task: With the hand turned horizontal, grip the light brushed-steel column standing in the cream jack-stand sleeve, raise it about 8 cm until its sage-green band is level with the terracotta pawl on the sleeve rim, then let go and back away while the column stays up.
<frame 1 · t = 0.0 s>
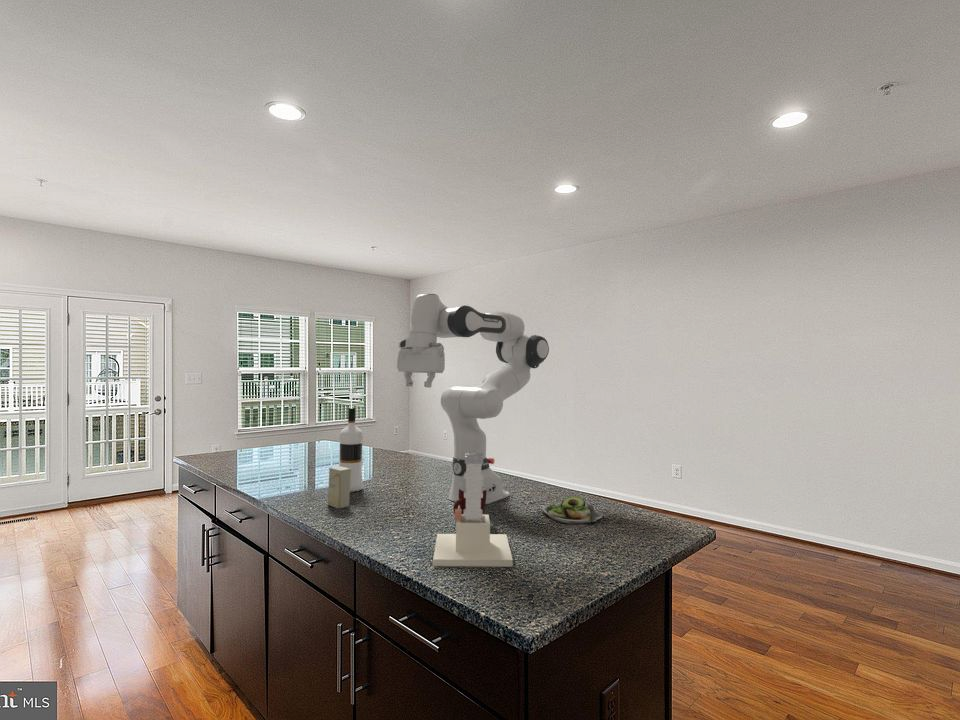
hand: (418, 386, 160), 39 cm above the worktop, tool pointing down, fingers open, 8 cm apart
mug: (469, 524, 146), on the worktop
stand: (472, 552, 123), on the worktop
salad plate: (572, 517, 157), on the worktop
skincare box: (338, 506, 163), on the worktop
vodka: (350, 490, 185), on the worktop
column: (473, 503, 124), point 12 cm above the worktop, slide at 0.0 cm
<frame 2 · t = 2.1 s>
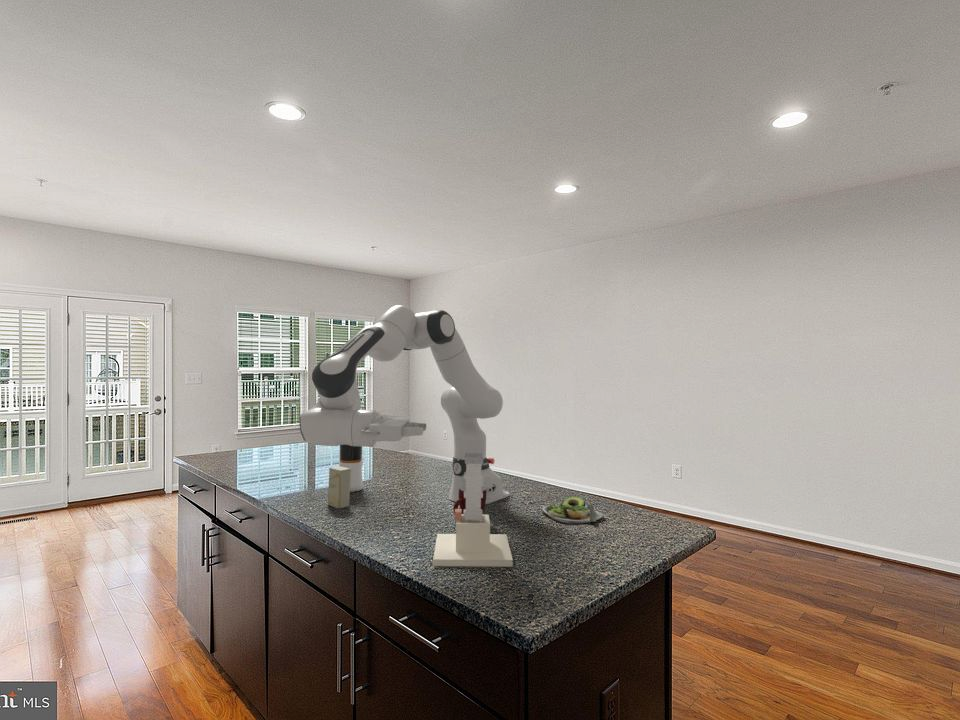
hand: (424, 429, 124), 30 cm above the worktop, tool horizontal, fingers open, 8 cm apart
nothing on the worktop moved.
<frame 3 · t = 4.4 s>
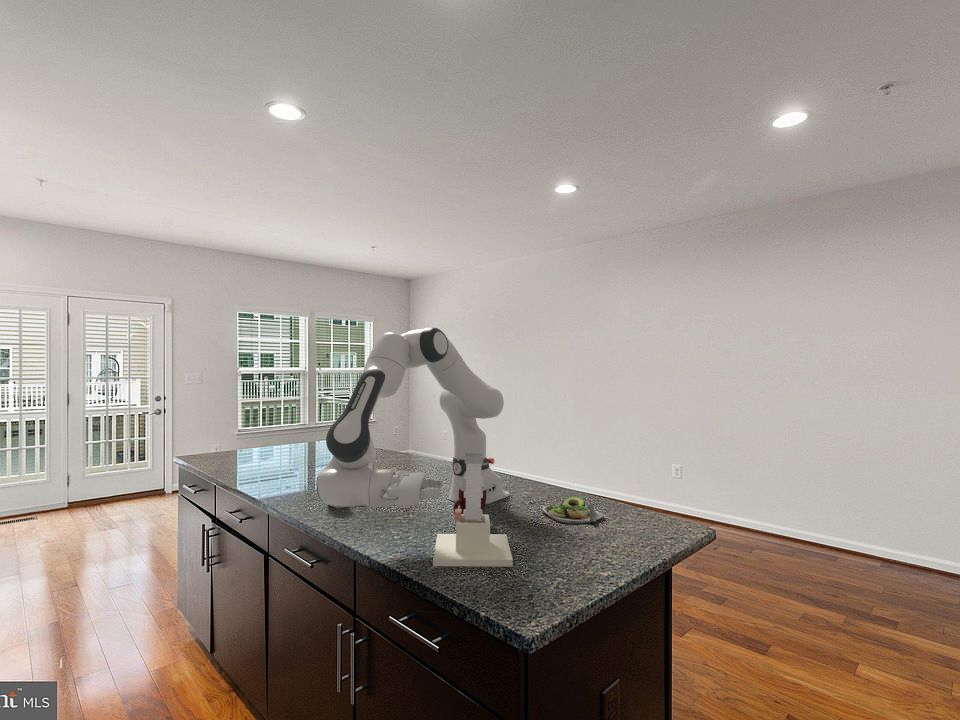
hand: (441, 488, 124), 15 cm above the worktop, tool horizontal, fingers open, 8 cm apart
nothing on the worktop moved.
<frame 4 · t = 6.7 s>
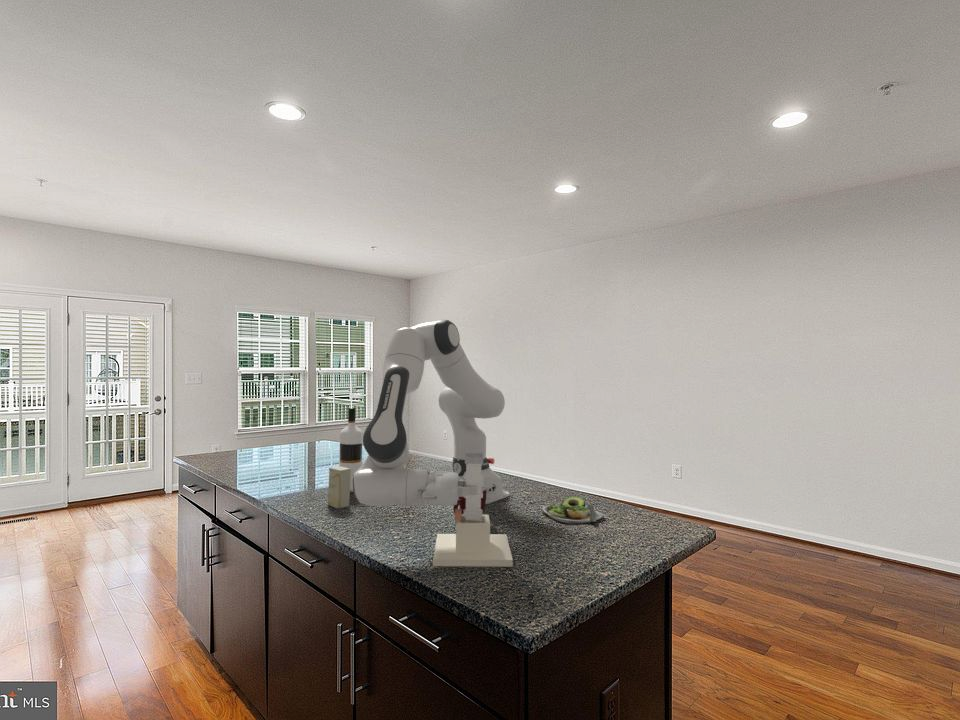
hand: (477, 488, 124), 16 cm above the worktop, tool horizontal, fingers closed on column, 4 cm apart
column: (473, 503, 124), point 12 cm above the worktop, slide at 0.0 cm, touching gripper
everything else where it was.
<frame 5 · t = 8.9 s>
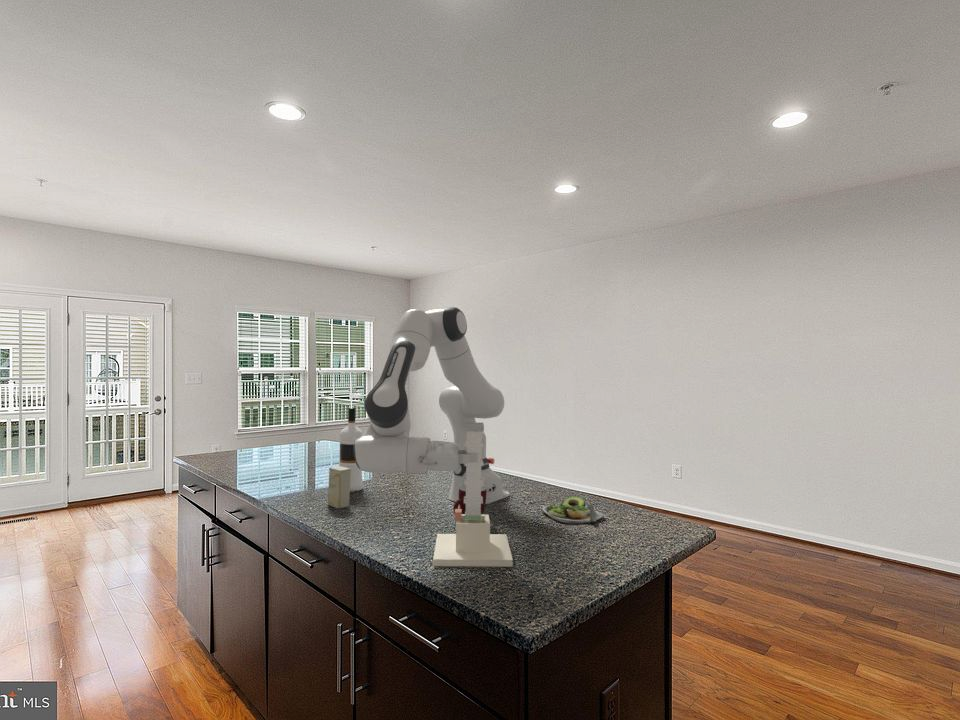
hand: (477, 456, 124), 23 cm above the worktop, tool horizontal, fingers closed on column, 4 cm apart
column: (473, 472, 124), point 19 cm above the worktop, slide at 7.7 cm, touching gripper
everything else where it was.
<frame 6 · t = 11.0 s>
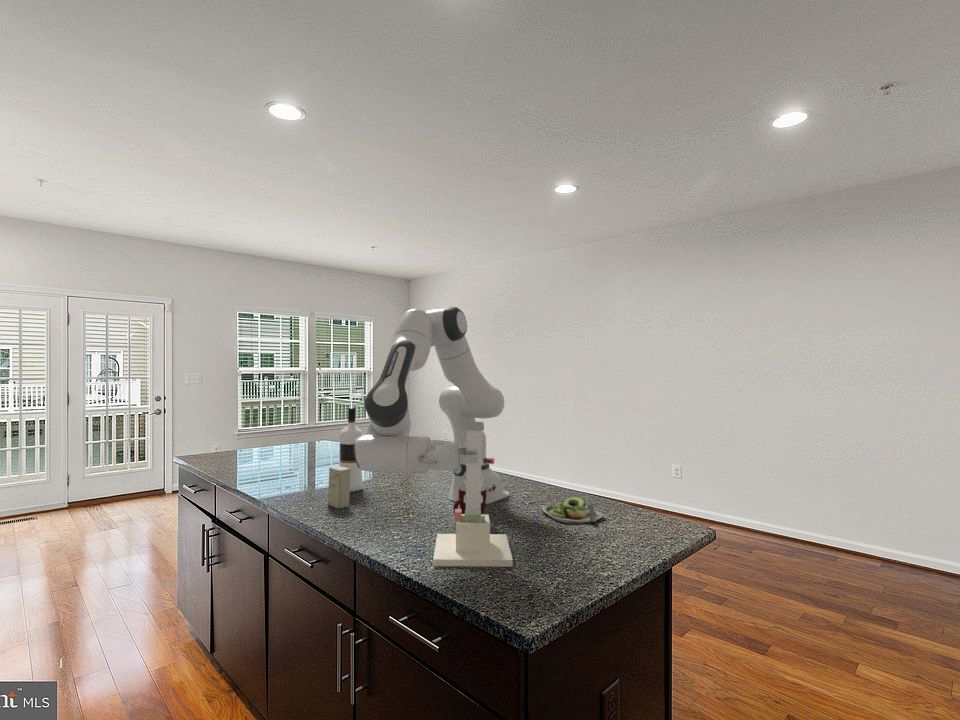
hand: (477, 455, 124), 23 cm above the worktop, tool horizontal, fingers open, 8 cm apart
column: (473, 471, 124), point 20 cm above the worktop, slide at 7.9 cm
everything else where it was.
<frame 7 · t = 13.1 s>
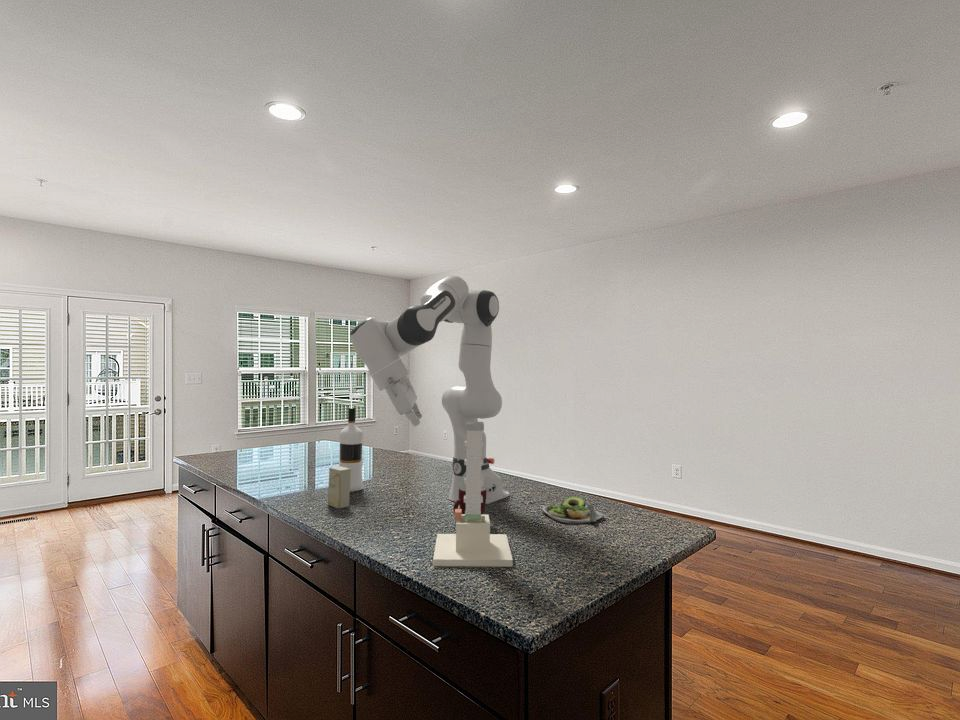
hand: (418, 421, 134), 31 cm above the worktop, tool tilted 30°, fingers open, 8 cm apart
nothing on the worktop moved.
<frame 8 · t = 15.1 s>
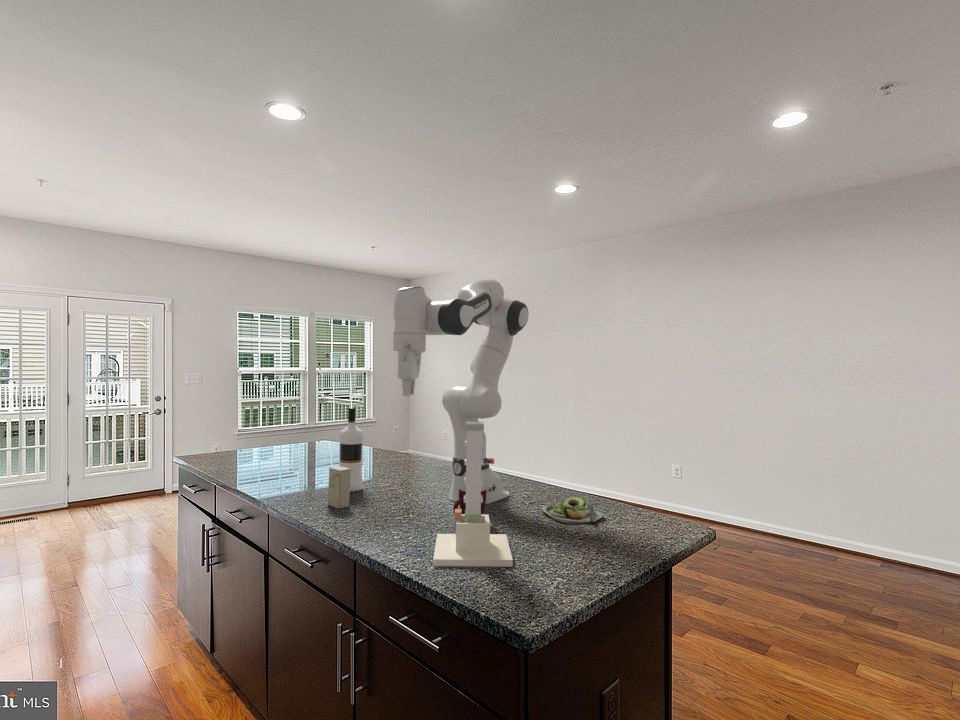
hand: (408, 395, 138), 37 cm above the worktop, tool pointing down, fingers open, 8 cm apart
nothing on the worktop moved.
at the end: column slide at 7.9 cm; the gripper is holding nothing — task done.
